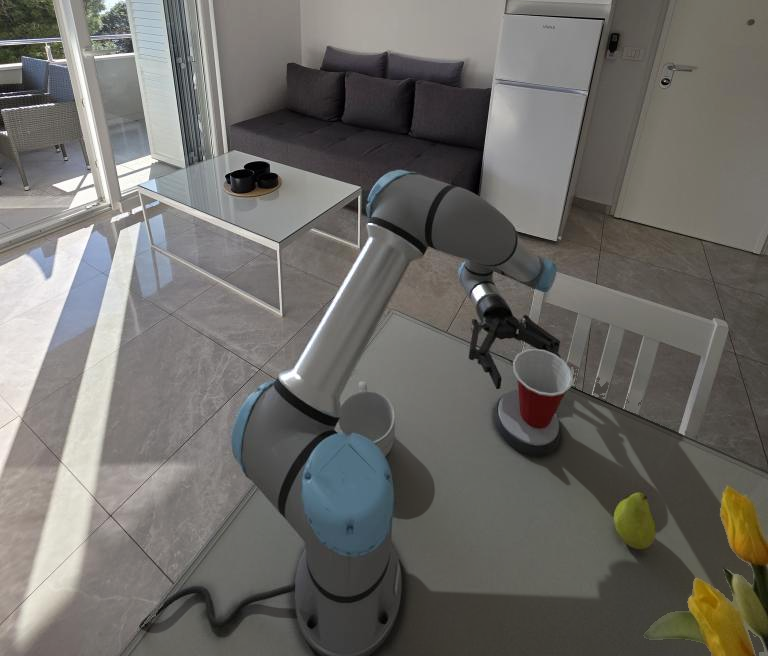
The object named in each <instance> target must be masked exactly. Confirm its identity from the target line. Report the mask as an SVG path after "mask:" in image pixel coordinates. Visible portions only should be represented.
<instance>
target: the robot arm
mask: <svg viewBox="0 0 768 656" xmlns="http://www.w3.org/2000/svg"><path fill="white" fill-rule="evenodd" d="M367 202H368V203H367V204H366V206H365V209H366V210H365V211H366V215H367V218H368V219H369V220H368V221H367V223H366V224H365V227H366V231H367V234H368V238H367V240H366V242H365V243H364V245H363V247H362V248H361V251H360V252H359V254H358V256H357V257H356V259H355V260H354V262H353V264H352V266H351V268H350V269H349V271H348V273H347V275H346V277H344V280H343V281H342V283H341V285H340V287H339V289H338V290H337V292H336V293H335V296H334V298H333V299H332V301H331V302H330V304H329V306H328V308H327V310H325V313H324V315H323V317H322V318H321V320H320V322H319V324H318V325H317V326H316V328H315V330H314V332H313V334H312V336H311V338H310V339H309V341H308V342H307V344H306V346H305V347H304V350H303V351H302V353H301V355H300V356H299V358H298V360H297V361H296V364H295V365H294V367H292V368H291V369H288V370H285V371H281V372H279V374H278V376H277V378H276V379H275V380H270V381H266V382H264V383H262V384H261V385H259V386H258V387H257V390H256V391H253V392H251V394H250V395H248V397H247V398H246V399H245V401H244V402H243V404H242V406H241V407H240V409H239V411H238V413H237V415H236V418H235V421H234V423H233V426H232V431H231V436H230V437H231V438H230V445H231V453H232V455H233V458H234V460H235V461H236V463H237V464H238V465H239V466H240V468H241V470H242V472H243V474H244V476H245V478H247V479H248V480H250V482H252V483H253V484H254V486H255V487H257V489H258V490H259V491H260V493H262V494H263V496H264V497H265V498H266V499H267V500H268V501H269V503H270V504H271V505H272V506H273V507H274V508H275V509H276V511H277V512H278V513H279V514H280V516H282V517H283V518H284V519H285V520H286V522H287V523H288V524H289V526H291V528H293V530H294V531H295V533H296V534H297V535H298V536H299V537H300V538H301V540H302V541H303V543H304V545H305V547H304V550H303V551H302V553H301V556H300V558H299V561H298V564H297V568H296V571H295V576H294V577H295V578H294V583H290V584H288V585H284V586H281V587H277V588H274V589H271V590H268V591H262V592H257V593H254V594H251V595H249V596H247V597H245V598H244V599H242V600H241V601H239V602H238V604H237V605H235V606H234V608H233V609H232V610H231V612H229V614H228V615H227V616H225V618H222V619H217V618H216V617H215V615H214V610H213V601H212V597H211V594H210V591H209V590H208V589H207V588H206V587H205V586H202V585H192V586H188V587H185V588H183V589H181V590H179V591H177V592H175V593H174V594H173V595H171V596H169V597H168V598H167V599H165V600H166V601H165V600H164V601H165V602H164V601H163V602H164V604H163V606H162V607H161V608H160V609H159V610H158V612H157V613H156V616H155V617H153V618H152V619H151V621H153V620H154V619H155V618H156V617H157V616H158V615H159V614H161V613H162V612H163V611H164V610H165V609H166V608H168V607H169V606H170V605H171V604H173V603H175V602H176V601H177V600H179V599H181V598H183V597H186V596H189V595H193V594H196V595H201V596H202V597H203V598H204V602H205V611H206V617H207V619H208V622H209V624H210V625H211V626H212V627H213V628H216V629H222V628H224V627H226V626H228V625H229V624H230V623H231V622H232V621H233V620H234V618H235V617H236V616H237V615H238V614H239V613H240V612H241V610H242V609H244V608H245V607H247V606H249V605H250V604H253V603H256V602H260V601H265V600H269V599H272V598H275V597H278V596H282V595H285V594H289V593H292V592H294V607H295V608H294V609H295V615H296V619H297V623H298V626H299V628H300V631H301V633H302V635H303V637H304V639H305V640H306V642H307V643H308V645H309V646H310V647H311V648H312V649H313V651H315V652H316V653H317V654H318V655H320V656H370V655H372V654H374V652H376V650H378V649H379V648H380V647H381V646H382V644H383V643H384V642H385V641H386V639H387V638H388V637H389V635H390V634H391V632H392V630H393V627H394V625H395V623H396V620H397V617H398V614H399V611H400V606H401V599H402V598H401V597H402V586H403V584H402V581H403V580H402V568H401V563H400V559H399V556H398V553H397V550H396V548H395V545H394V544H393V542H392V532H393V519H394V514H395V503H396V502H395V489H394V483H393V475H392V471H391V468H390V467H391V466H390V465H389V462H388V460H387V458H386V456H384V455H383V453H382V452H381V450H380V449H379V448H378V447H377V446H376V445H375V444H374V443H373V442H372V441H371V440H369V439H368V438H366V437H364V436H362V435H359V434H356V433H352V434H351V435H345V433H338V431H336V430H335V429H336V426H337V423H338V421H339V419H340V417H341V415H342V410H341V402H340V401H341V396H342V394H343V392H344V390H345V388H346V387H347V384H348V382H349V380H350V379H351V376H352V375H353V373H354V371H355V370H356V367H357V365H358V364H359V361H360V360H361V357H362V356H363V354H364V352H365V350H366V348H367V346H368V344H369V343H370V341H371V339H372V336H373V334H374V333H375V331H376V329H377V327H378V326H379V323H380V321H381V319H382V318H383V316H384V314H385V312H386V311H387V308H388V306H389V304H390V303H391V300H392V298H393V296H394V295H395V293H396V291H397V288H398V287H399V285H400V283H401V281H402V279H403V277H404V276H405V273H406V272H407V270H408V268H409V266H410V264H411V263H412V262H414V261H417V260H421V259H423V258H424V256H425V254H426V252H427V250H428V248H431V249H434V250H435V251H439V252H441V253H444V254H447V255H449V256H452V257H456V258H459V259H463V260H464V261H463V262H462V263H461V265H460V266H459V268H458V271H457V273H458V274H457V275H458V278H459V282H460V284H461V286H462V287H463V289H464V292H465V293H466V295H467V297H468V299H469V301H470V302H471V304H472V307H473V308H474V311H475V313H476V314H477V317H478V319H479V320H480V321H478V320H477V319H476V318H473V319H471V326H470V330H471V339H470V344H469V351H468V359H469V361H475V360H477V364H478V365H479V366H481V367H482V370H483V372H484V373H486V374H489V376H490V379H491V381H492V383H493V385H494V387H495V389H496V390H500V389H501V385H502V380H503V377H502V376H501V374H500V371H499V370H498V367H497V366H496V363H495V360H494V359H493V356H492V354H491V352H489V351H490V349H491V347H492V345H493V344H494V342H495V341H496V339H499V340H505V339H508V340H509V339H514V340H517V341H518V342H521V341H522V342H524V343H526V344H527V345H530V346H531V347H533V348H534V349H540V350H545V351H548V352H551V353H553V354H555V355H557V356H558V357H559V358H561V359H562V356H561V355H560V354H559V350H560V345H561V341H560V340H559V339H558V338H556V337H555V336H554V335H552V334H551V333H549V332H548V331H547V330H545V329H544V328H542V327H541V326H540V325H539V324H537V323H536V322H534V320H533V321H532V319H531V317H529V315H527V314H524V315H523V316H522V318H516V316H514V314H513V311H512V309H511V308H510V306H509V304H508V303H507V301H506V299H505V298H504V296H503V294H502V292H501V291H500V290H499V288H498V287H497V285H496V284H495V281H494V279H493V278H494V277H493V276H494V273H497V274H499V275H501V276H503V277H506V278H509V279H511V280H513V281H516V282H518V283H520V284H522V285H525V286H527V287H529V288H531V289H533V290H537V291H539V292H542V293H548V292H549V291H550V290H551V288H552V287H553V285H554V282H555V280H556V277H557V270H558V266H557V264H556V263H555V262H554V261H552V260H551V259H547V257H542V256H540V255H538V254H537V253H535V252H534V250H533V249H531V248H530V247H529V246H528V245H527V244H526V243H525V242H524V241H523V240H522V239H521V238H520V237H519V235H518V231H517V230H516V228H515V226H514V224H513V223H512V221H510V220H509V219H508V217H506V215H504V214H503V213H502V212H501V211H500V210H498V208H496V207H495V206H493V205H492V204H491V203H489V202H488V201H486V200H485V199H484V198H483V197H481V196H479V195H478V194H476V193H474V192H472V191H470V190H468V189H467V188H464V187H463V188H462V187H460V186H456V185H453V184H449V183H447V182H444V181H440V180H437V179H434V178H431V177H428V176H426V175H422V174H421V173H419V172H417V171H416V172H415V171H408V170H404V169H396V170H392V171H388V172H387V173H386V174H384V175H382V176H381V177H380V178H379V179H378V180H377V181H376V182H375V183H374V185H373V186H372V188H371V190H370V192H369V194H368V197H367ZM482 330H483V331H485V332H486V333H487V334H486V336H485V337H484V340H483V342H482V343H481V345H480V347H479V349H477V345H478V338H479V334H480V332H482ZM517 331H518V332H517ZM562 360H563V359H562ZM154 610H155V609H153V610H152V611H151V612H150V613H149V614H148V615H147V616H146V617H145V618H143V620H142V621H141V622H140V623H139V626H138V627H139V629H142V628H141V626H142V625H143V624H144V622H145V621H146V620H147V618H148V617H149V616H150V615H151V613H152V612H153V611H154Z"/></svg>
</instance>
